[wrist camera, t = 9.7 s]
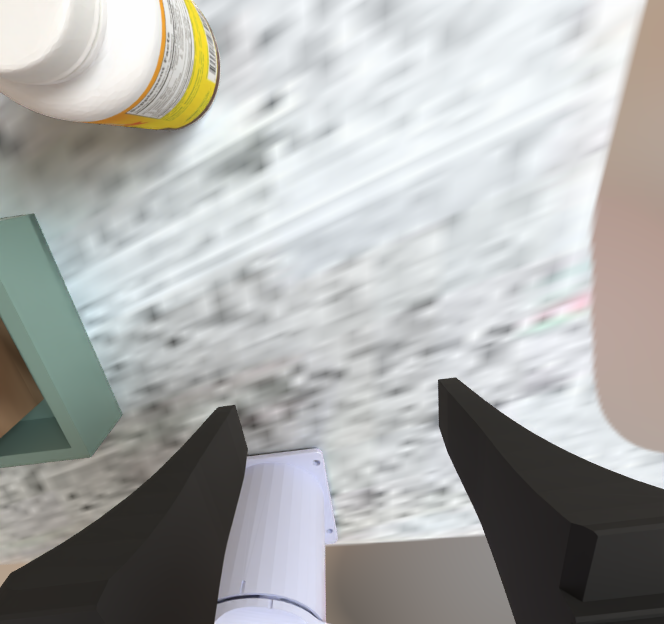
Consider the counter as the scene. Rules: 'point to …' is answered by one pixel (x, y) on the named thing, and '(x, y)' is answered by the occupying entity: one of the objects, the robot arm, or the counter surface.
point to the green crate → (50, 355)
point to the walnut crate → (14, 384)
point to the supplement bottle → (110, 61)
